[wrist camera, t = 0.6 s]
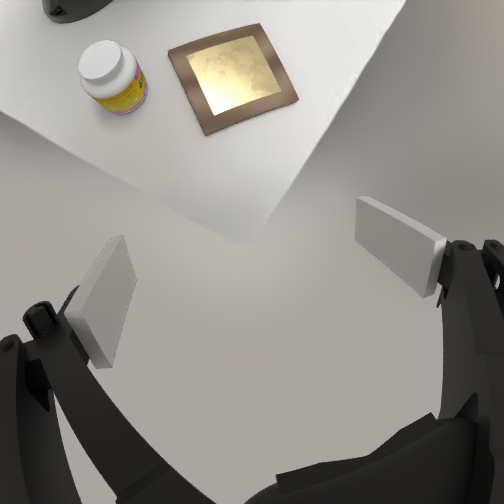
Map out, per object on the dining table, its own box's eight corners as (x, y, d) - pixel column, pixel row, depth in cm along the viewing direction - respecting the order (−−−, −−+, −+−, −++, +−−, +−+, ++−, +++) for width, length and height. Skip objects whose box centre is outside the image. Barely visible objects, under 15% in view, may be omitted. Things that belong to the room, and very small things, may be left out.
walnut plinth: (168, 55, 30) (167, 51, 29) (257, 27, 31) (259, 22, 30) (205, 135, 35) (206, 134, 33) (295, 102, 36) (299, 99, 34)
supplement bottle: (154, 101, 32) (138, 67, 20) (111, 123, 31) (77, 101, 19) (139, 64, 30) (121, 22, 17) (98, 86, 29) (63, 53, 17)
